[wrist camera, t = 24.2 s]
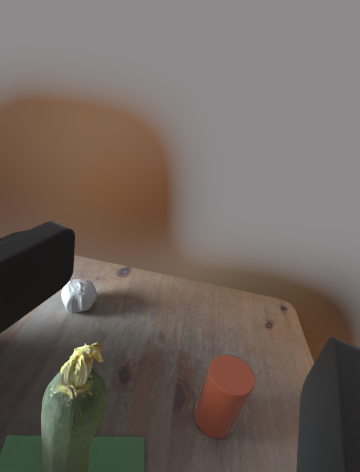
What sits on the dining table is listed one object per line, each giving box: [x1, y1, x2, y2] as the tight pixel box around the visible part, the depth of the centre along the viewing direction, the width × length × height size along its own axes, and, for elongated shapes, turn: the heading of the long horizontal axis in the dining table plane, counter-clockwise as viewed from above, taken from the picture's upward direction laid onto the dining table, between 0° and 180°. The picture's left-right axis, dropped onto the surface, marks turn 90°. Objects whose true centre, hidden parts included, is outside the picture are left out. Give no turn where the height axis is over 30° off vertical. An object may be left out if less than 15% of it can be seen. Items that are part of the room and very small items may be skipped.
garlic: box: [61, 279, 97, 313], centre depth 49 cm, size 6×5×5 cm
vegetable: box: [41, 342, 106, 472], centre depth 24 cm, size 4×4×20 cm
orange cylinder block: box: [194, 355, 255, 439], centre depth 36 cm, size 5×5×8 cm
